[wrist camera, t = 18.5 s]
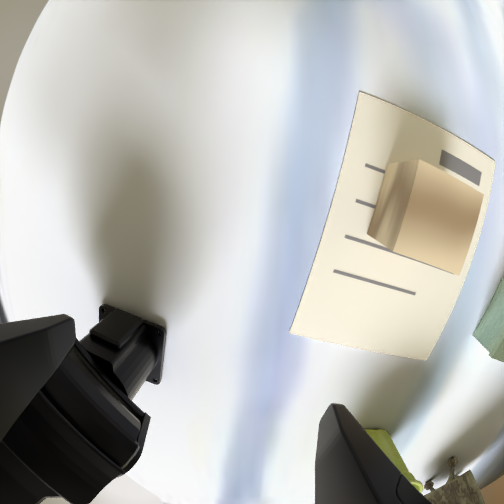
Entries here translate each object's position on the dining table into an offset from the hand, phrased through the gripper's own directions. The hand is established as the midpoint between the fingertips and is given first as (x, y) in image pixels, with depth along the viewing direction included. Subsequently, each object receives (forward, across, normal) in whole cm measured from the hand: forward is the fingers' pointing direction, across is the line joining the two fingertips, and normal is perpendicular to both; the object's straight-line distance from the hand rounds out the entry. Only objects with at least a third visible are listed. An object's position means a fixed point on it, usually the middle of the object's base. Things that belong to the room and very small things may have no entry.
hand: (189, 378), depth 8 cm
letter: (+12, -11, -5) cm, 17 cm away
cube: (+12, -10, -7) cm, 17 cm away
